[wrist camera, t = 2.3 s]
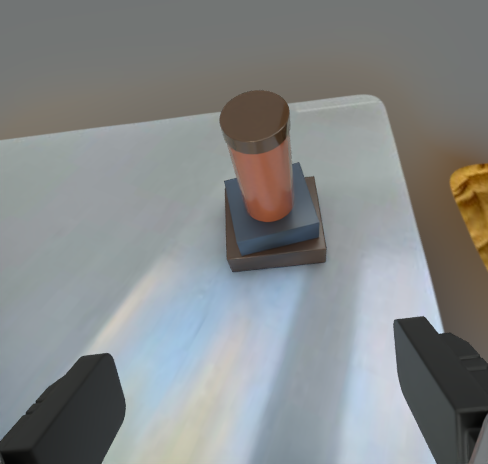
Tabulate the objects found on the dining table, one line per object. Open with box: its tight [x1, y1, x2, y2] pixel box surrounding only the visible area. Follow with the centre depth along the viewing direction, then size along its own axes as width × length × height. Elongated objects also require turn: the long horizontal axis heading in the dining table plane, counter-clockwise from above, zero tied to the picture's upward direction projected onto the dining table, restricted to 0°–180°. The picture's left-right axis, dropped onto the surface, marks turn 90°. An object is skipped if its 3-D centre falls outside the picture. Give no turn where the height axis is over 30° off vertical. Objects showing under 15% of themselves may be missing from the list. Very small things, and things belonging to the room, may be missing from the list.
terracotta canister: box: [219, 90, 295, 222], centre depth 33 cm, size 5×5×11 cm
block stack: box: [224, 162, 326, 272], centre depth 41 cm, size 10×9×6 cm
